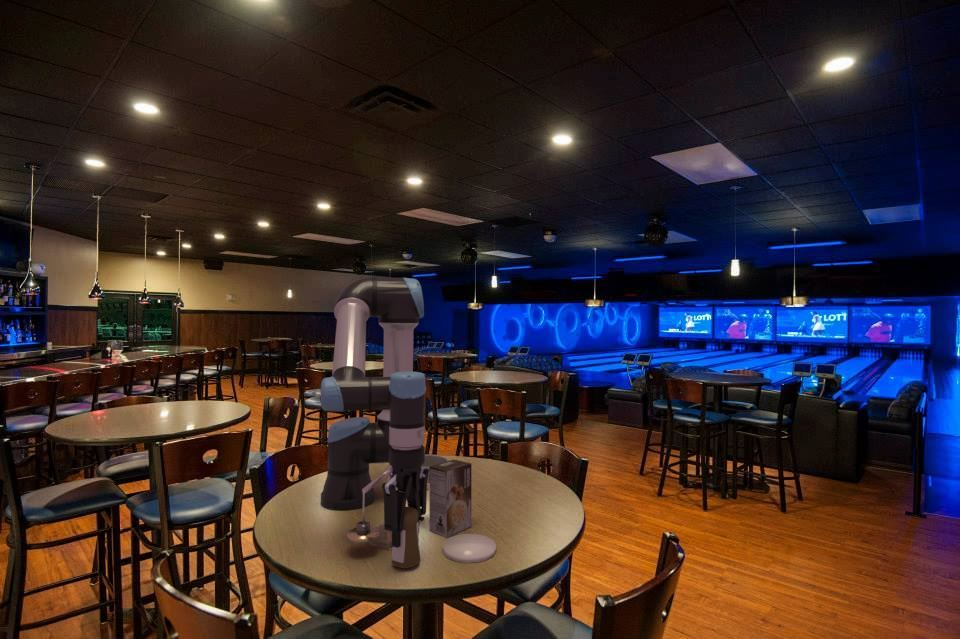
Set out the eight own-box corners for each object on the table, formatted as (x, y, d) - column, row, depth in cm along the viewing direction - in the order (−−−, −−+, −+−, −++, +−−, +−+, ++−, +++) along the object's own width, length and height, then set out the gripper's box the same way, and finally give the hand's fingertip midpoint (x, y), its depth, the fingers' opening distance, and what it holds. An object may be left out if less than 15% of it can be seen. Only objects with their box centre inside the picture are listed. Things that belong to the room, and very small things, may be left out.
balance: (338, 554, 109) (339, 468, 109) (410, 515, 132) (411, 443, 132) (366, 563, 105) (367, 473, 105) (435, 521, 128) (436, 447, 129)
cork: (399, 551, 108) (399, 501, 108) (425, 555, 107) (425, 505, 106) (386, 565, 103) (386, 512, 102) (413, 569, 101) (413, 516, 101)
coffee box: (453, 520, 129) (454, 458, 129) (472, 526, 125) (472, 463, 125) (428, 531, 122) (428, 465, 122) (446, 538, 118) (447, 470, 118)
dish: (432, 554, 109) (432, 549, 109) (460, 535, 120) (460, 530, 120) (479, 567, 104) (479, 562, 104) (504, 545, 114) (504, 540, 114)
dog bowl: (461, 473, 171) (461, 457, 171) (429, 487, 156) (429, 470, 156) (422, 465, 180) (422, 451, 180) (388, 478, 165) (388, 462, 165)
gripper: (395, 457, 95) (394, 579, 95) (443, 439, 110) (442, 544, 110) (365, 452, 99) (364, 569, 99) (416, 435, 114) (415, 536, 114)
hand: (405, 555), depth 104 cm, fingers closed on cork, 4 cm apart
